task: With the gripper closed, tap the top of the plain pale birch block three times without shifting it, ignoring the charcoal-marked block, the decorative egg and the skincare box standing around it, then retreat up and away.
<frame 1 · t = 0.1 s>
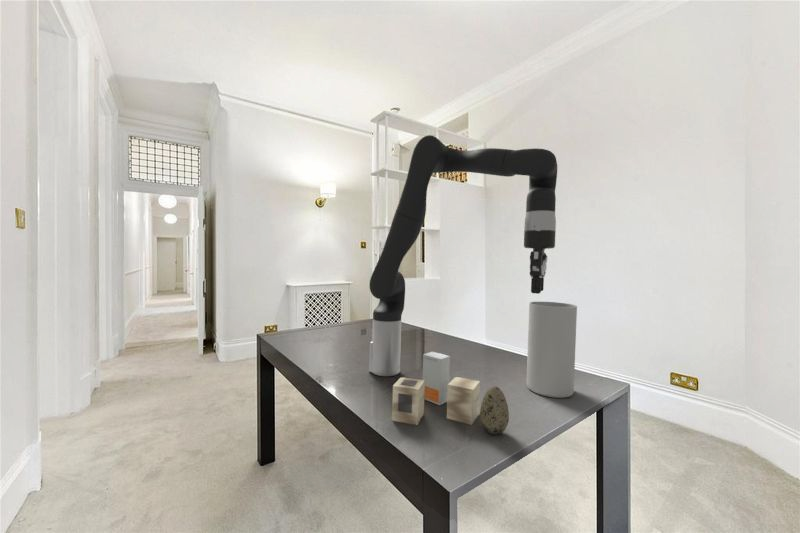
hand: (537, 292, 87), 29 cm above the table, fingers open, 8 cm apart
cylinder vase: (549, 390, 96), on the table
marked block: (408, 417, 77), on the table
skincare box: (435, 400, 87), on the table
birch block: (462, 416, 79), on the table
decorative egg: (493, 433, 71), on the table
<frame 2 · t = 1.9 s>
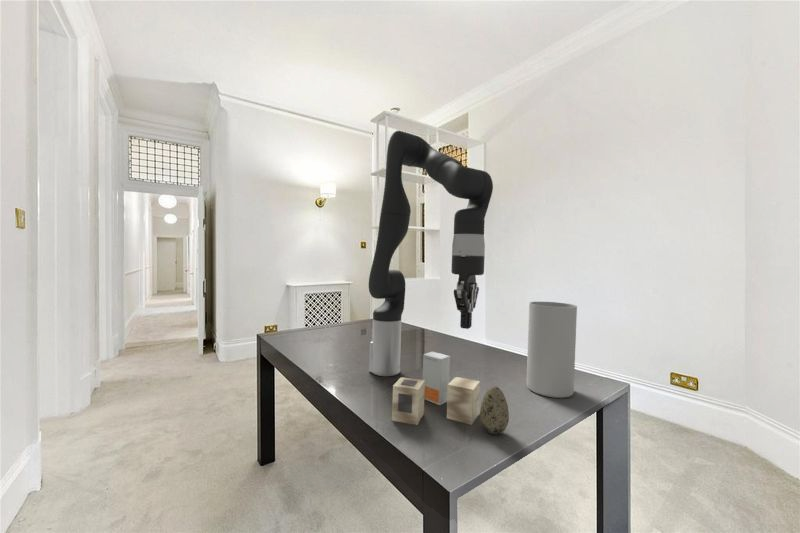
hand: (465, 327, 78), 21 cm above the table, fingers closed
nothing on the table moved.
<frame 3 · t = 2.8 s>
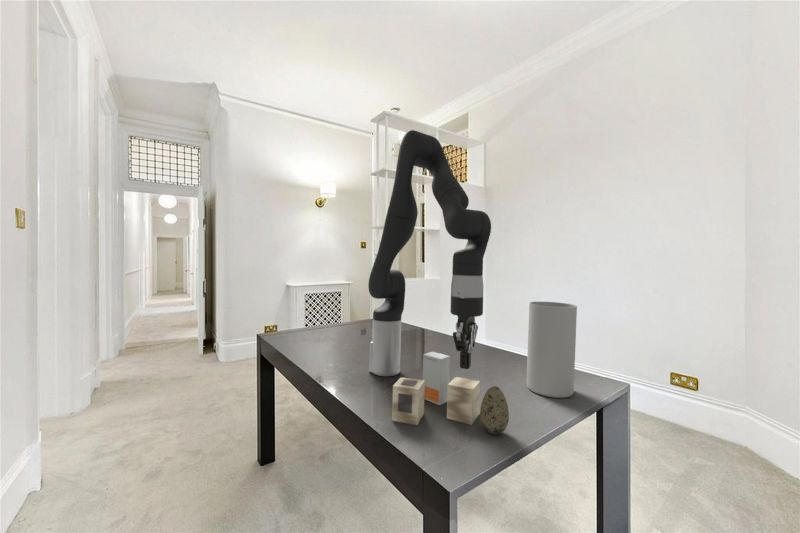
hand: (465, 367, 78), 12 cm above the table, fingers closed
nothing on the table moved.
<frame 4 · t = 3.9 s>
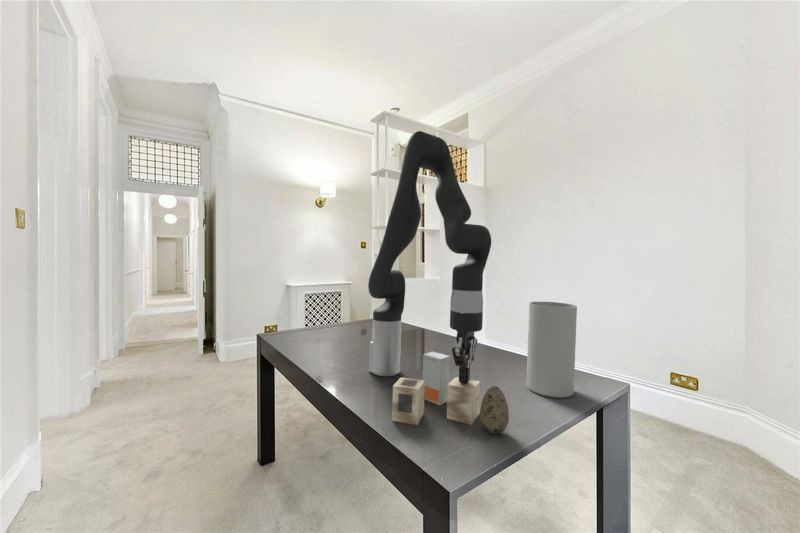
hand: (464, 382, 78), 8 cm above the table, fingers closed
nothing on the table moved.
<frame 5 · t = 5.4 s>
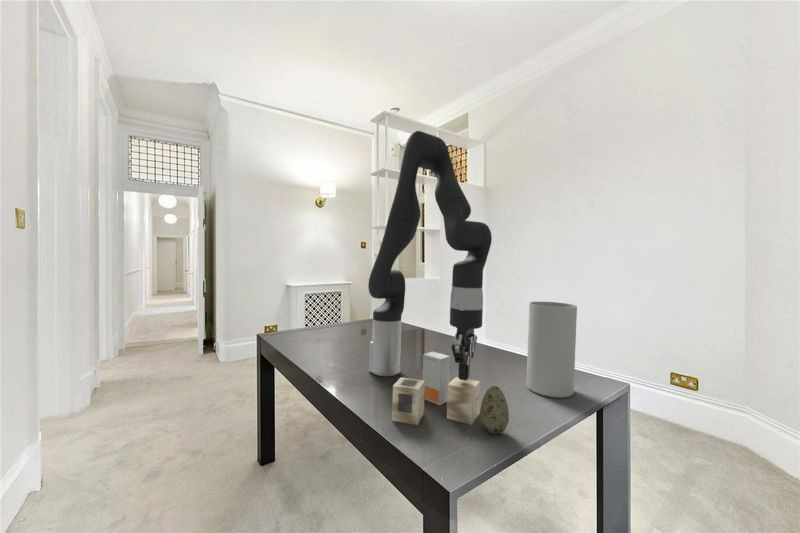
hand: (463, 379, 78), 9 cm above the table, fingers closed
nothing on the table moved.
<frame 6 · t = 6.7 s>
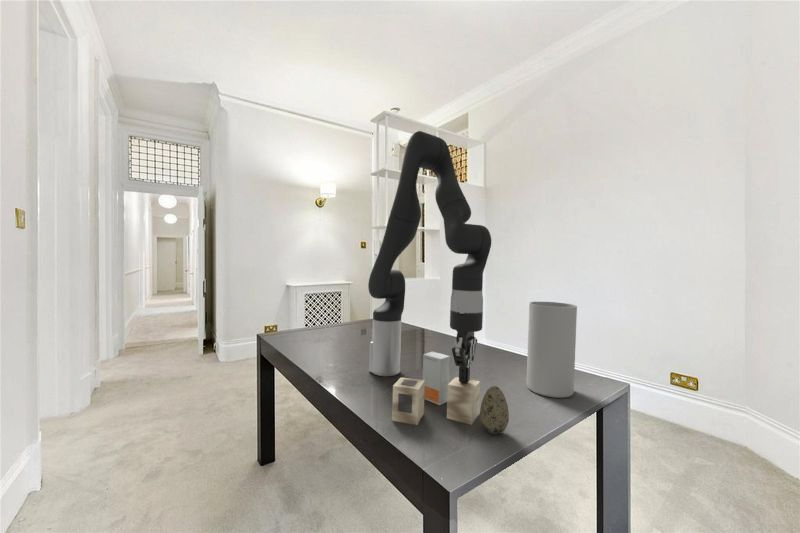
hand: (464, 382, 78), 8 cm above the table, fingers closed
nothing on the table moved.
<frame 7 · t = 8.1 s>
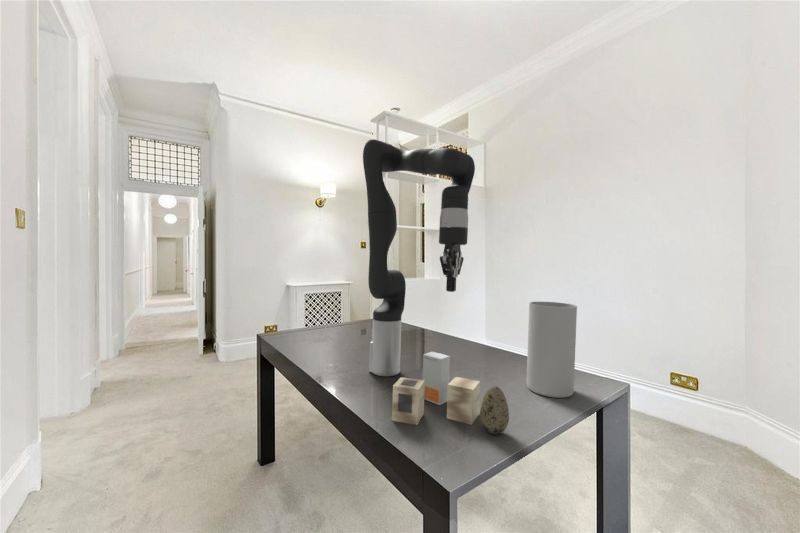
hand: (450, 291, 89), 29 cm above the table, fingers closed
nothing on the table moved.
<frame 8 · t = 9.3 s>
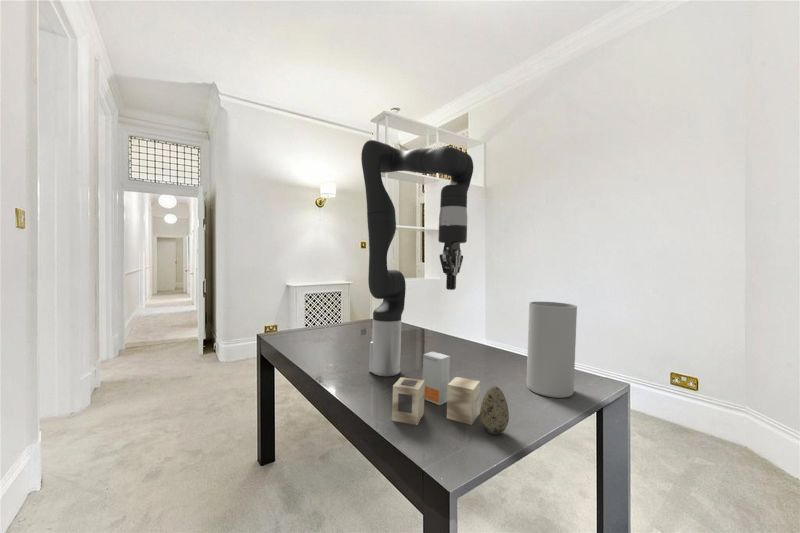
hand: (450, 289, 89), 29 cm above the table, fingers closed
nothing on the table moved.
at the end: birch block moved 0.1 cm from its start; birch block tilted 0°; marked block moved 0.1 cm from its start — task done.
